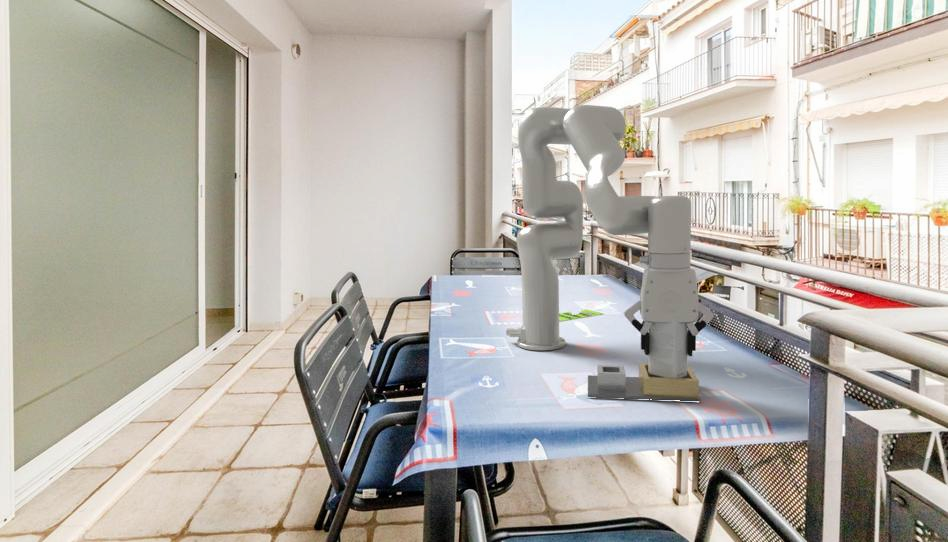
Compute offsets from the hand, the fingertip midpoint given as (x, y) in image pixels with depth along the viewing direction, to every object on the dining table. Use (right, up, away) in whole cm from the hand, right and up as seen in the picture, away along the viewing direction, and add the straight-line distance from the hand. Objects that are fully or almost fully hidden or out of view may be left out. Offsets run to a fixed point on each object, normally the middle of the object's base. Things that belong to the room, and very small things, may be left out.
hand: (667, 353), depth 101 cm
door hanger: (-7, 0, +70) cm, 71 cm away
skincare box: (0, -4, +1) cm, 5 cm away
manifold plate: (-5, -8, +2) cm, 9 cm away
